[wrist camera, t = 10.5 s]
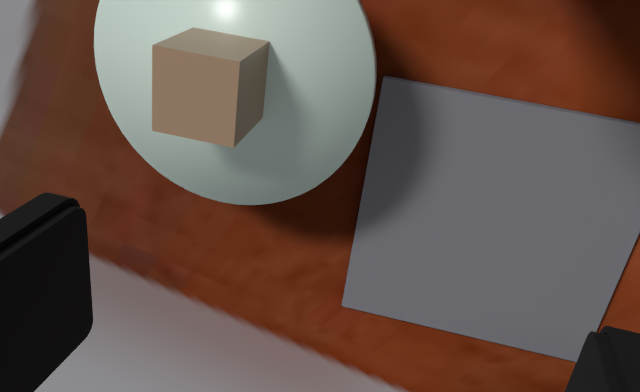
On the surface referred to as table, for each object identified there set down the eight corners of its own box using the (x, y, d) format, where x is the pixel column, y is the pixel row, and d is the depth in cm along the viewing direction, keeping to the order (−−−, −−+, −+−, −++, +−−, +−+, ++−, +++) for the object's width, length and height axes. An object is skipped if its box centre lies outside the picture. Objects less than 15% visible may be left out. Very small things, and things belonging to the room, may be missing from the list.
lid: (403, -63, 27) (390, -57, 22) (352, 222, 34) (333, 274, 29) (98, -111, 29) (25, -115, 24) (108, 168, 36) (52, 208, 31)
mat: (679, 130, 34) (682, 133, 33) (580, 357, 41) (582, 363, 41) (384, 75, 36) (383, 77, 35) (343, 301, 44) (341, 306, 43)
